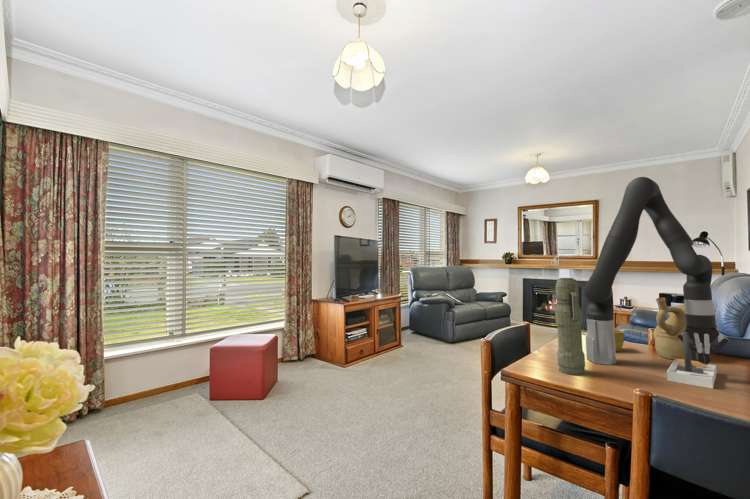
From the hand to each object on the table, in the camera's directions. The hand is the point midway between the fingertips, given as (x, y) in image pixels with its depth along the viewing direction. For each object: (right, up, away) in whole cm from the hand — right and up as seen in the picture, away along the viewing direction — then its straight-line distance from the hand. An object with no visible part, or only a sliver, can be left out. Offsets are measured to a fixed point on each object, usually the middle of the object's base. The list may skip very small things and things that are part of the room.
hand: (705, 364), depth 114 cm
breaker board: (-2, -5, +2) cm, 6 cm away
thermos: (-38, -7, +12) cm, 41 cm away
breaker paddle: (-2, -1, +2) cm, 4 cm away
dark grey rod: (+4, -2, +8) cm, 9 cm away
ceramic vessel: (+13, -6, +25) cm, 29 cm away
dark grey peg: (-9, -2, -3) cm, 9 cm away
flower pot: (-5, -7, +39) cm, 40 cm away
